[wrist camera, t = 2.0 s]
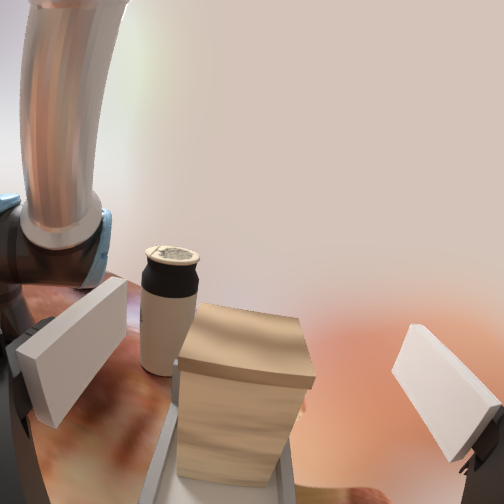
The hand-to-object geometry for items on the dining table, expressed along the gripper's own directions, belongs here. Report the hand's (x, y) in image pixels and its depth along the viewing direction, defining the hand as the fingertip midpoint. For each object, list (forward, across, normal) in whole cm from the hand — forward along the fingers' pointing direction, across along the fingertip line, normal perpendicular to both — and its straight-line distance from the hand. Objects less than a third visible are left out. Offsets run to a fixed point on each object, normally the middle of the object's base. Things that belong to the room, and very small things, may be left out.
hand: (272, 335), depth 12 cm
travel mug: (+27, -11, -23) cm, 37 cm away
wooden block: (+10, 0, -22) cm, 24 cm away
